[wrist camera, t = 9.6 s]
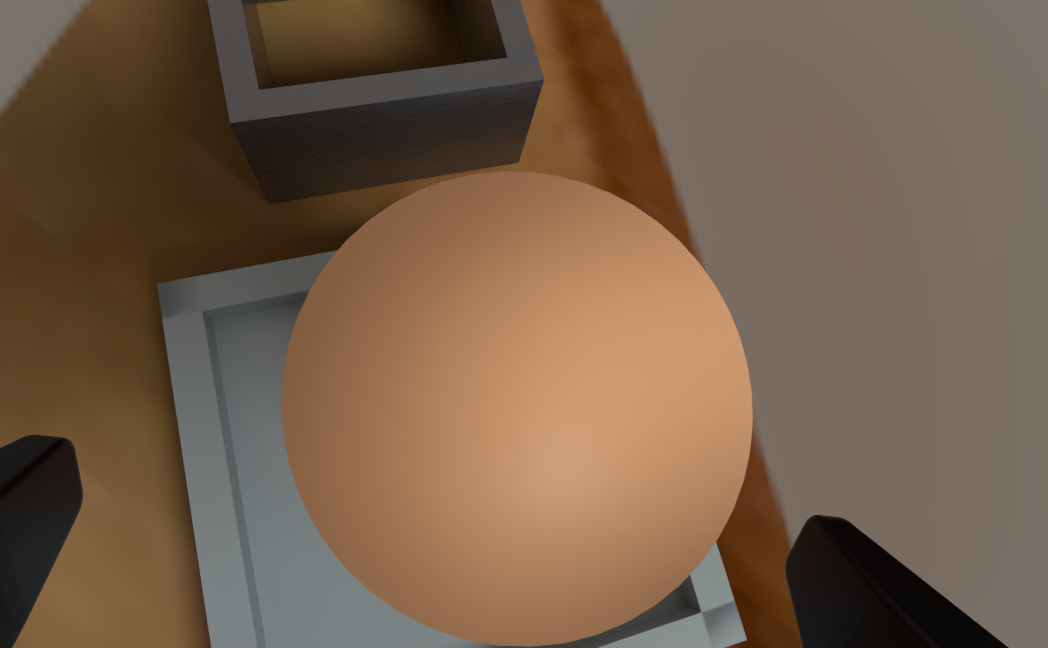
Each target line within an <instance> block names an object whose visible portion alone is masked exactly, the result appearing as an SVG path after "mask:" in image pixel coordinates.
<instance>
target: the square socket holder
mask: <svg viewBox="0 0 1048 648" xmlns="http://www.w3.org/2000/svg"><path fill="white" fill-rule="evenodd" d="M207 1H208V7H209V12H210V18H211V23H212V28H213V34H214V39H215V45H216V50H217V55H218V61H219V66H220V72H221V77H222V82H223V88H224V93H225V99H226V104H227V109H228V115H229V120H230V124H231V126H232V128H233V130H234V132H235V134H236V137H237V139H238V141H239V143H240V145H241V147H242V149H243V151H244V153H245V155H246V157H247V159H248V162H249V164H250V166H251V168H252V170H253V172H254V174H255V176H256V178H257V180H258V182H259V184H260V186H261V189H262V191H263V193H264V195H265V197H266V199H267V201H268V203H269V204H270V203H276V202H282V201H288V200H294V199H300V198H306V197H312V196H318V195H324V194H330V193H336V192H343V191H349V190H355V189H361V188H367V187H373V186H379V185H385V184H391V183H397V182H403V181H409V180H415V179H421V178H427V177H433V176H439V175H445V174H451V173H457V172H463V171H469V170H475V169H481V168H487V167H493V166H499V165H505V164H512V163H518V162H519V159H520V156H521V153H522V150H523V146H524V143H525V140H526V137H527V133H528V130H529V127H530V124H531V120H532V117H533V114H534V111H535V107H536V104H537V101H538V98H539V94H540V91H541V88H542V85H543V81H544V78H543V75H542V71H541V68H540V65H539V61H538V58H537V55H536V52H535V48H534V45H533V42H532V39H531V35H530V32H529V29H528V25H527V22H526V19H525V16H524V12H523V9H522V6H521V2H520V0H449V1H450V5H451V8H452V12H453V15H454V19H455V23H456V26H457V30H458V33H459V37H460V41H461V44H462V48H463V51H464V55H465V59H466V62H467V63H463V64H455V65H447V66H440V67H432V68H424V69H416V70H409V71H401V72H393V73H386V74H378V75H370V76H362V77H355V78H347V79H339V80H331V81H324V82H316V83H308V84H301V85H293V86H285V87H277V88H273V85H272V80H271V75H270V70H269V66H268V61H267V56H266V51H265V46H264V41H263V36H262V31H261V26H260V21H259V16H258V11H257V7H256V3H264V2H274V1H284V0H207Z"/></svg>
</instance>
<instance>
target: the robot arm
mask: <svg viewBox="0 0 1048 648" xmlns="http://www.w3.org/2000/svg"><path fill="white" fill-rule="evenodd" d="M82 499H83V489H82V484H81V478H80V473H79V468H78V463H77V458H76V453H75V448H74V445H73V444H72V442H71V441H70V440H68V439H66V438H62V437H53V436H43V435H28V436H25V437H23V438H20V439H18V440H16V441H14V442H12V443H10V444H8V445H6V446H3V447H1V448H0V648H12V647H13V645H14V643H15V642H16V640H17V638H18V636H19V634H20V632H21V630H22V628H23V627H24V625H25V623H26V621H27V619H28V617H29V615H30V613H31V611H32V609H33V606H34V604H35V602H36V600H37V598H38V596H39V594H40V592H41V590H42V588H43V586H44V584H45V582H46V580H47V578H48V575H49V573H50V571H51V569H52V567H53V565H54V563H55V561H56V559H57V557H58V555H59V553H60V551H61V549H62V546H63V544H64V542H65V540H66V538H67V536H68V534H69V532H70V530H71V528H72V526H73V524H74V522H75V520H76V518H77V515H78V513H79V511H80V508H81V505H82ZM786 578H787V582H788V586H789V590H790V595H791V599H792V603H793V607H794V611H795V616H796V620H797V624H798V628H799V632H800V636H801V641H802V645H803V648H1008V647H1007V646H1006V645H1005V644H1003V643H1002V642H1000V640H998V639H997V638H996V637H994V636H993V635H992V634H991V633H989V632H988V631H987V630H985V629H984V628H983V627H982V626H981V625H979V624H978V623H977V622H975V621H974V620H973V619H972V618H970V617H969V616H968V615H967V614H965V613H964V612H963V611H962V610H960V609H959V608H958V607H956V606H955V605H954V604H953V603H951V602H950V601H949V600H948V599H946V598H945V597H944V596H943V595H941V594H940V593H939V592H937V591H936V590H935V589H933V588H932V587H931V586H930V585H929V584H927V583H926V582H925V581H923V580H922V579H921V578H920V577H918V576H917V575H916V574H915V573H913V572H912V571H911V570H909V569H908V568H907V567H906V566H904V565H903V564H902V563H901V562H899V561H898V560H897V559H895V558H894V557H893V556H892V555H891V554H889V553H888V552H887V551H885V550H884V549H883V548H882V547H880V546H879V545H878V544H877V543H875V542H874V541H873V540H872V539H870V538H869V537H868V536H867V535H865V534H864V533H863V532H861V531H860V530H859V529H858V528H856V527H855V526H854V525H853V524H851V523H850V522H849V521H847V520H846V519H843V518H840V517H833V516H823V515H814V516H812V517H810V518H809V519H808V520H807V521H806V523H805V524H804V526H803V528H802V530H801V532H800V534H799V536H798V538H797V539H796V541H795V543H794V545H793V547H792V549H791V551H790V553H789V555H788V557H787V561H786Z"/></svg>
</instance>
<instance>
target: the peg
mask: <svg viewBox="0 0 1048 648" xmlns="http://www.w3.org/2000/svg"><path fill="white" fill-rule="evenodd" d="M281 415H282V423H283V432H284V441H285V448H286V452H287V456H288V460H289V464H290V467H291V471H292V475H293V479H294V482H295V484H296V486H297V489H298V491H299V494H300V496H301V499H302V501H303V503H304V506H305V508H306V511H307V513H308V514H309V516H310V518H311V519H312V521H313V523H314V524H315V526H316V528H317V530H318V531H319V533H320V535H321V536H322V538H323V540H324V541H325V543H326V544H327V545H328V546H329V548H330V549H331V550H332V551H333V553H334V554H335V555H336V556H337V558H338V559H339V560H340V561H341V563H342V564H343V565H344V566H345V568H346V569H347V570H348V571H349V572H350V573H351V574H353V575H354V576H355V577H356V578H357V579H358V580H359V581H360V582H361V583H362V584H363V585H364V586H365V587H366V588H367V589H368V590H370V591H371V592H372V593H373V594H375V595H376V596H377V597H379V598H380V599H382V600H383V601H384V602H386V603H387V604H389V605H390V606H392V607H393V608H394V609H396V610H397V611H399V612H400V613H402V614H404V615H406V616H408V617H410V618H412V619H414V620H416V621H418V622H420V623H422V624H424V625H426V626H428V627H430V628H432V629H435V630H438V631H441V632H444V633H447V634H450V635H453V636H456V637H459V638H462V639H465V640H470V641H476V642H481V643H487V644H492V645H498V646H526V647H534V646H543V645H552V644H561V643H567V642H571V641H575V640H579V639H583V638H586V637H590V636H594V635H598V634H600V633H603V632H605V631H607V630H610V629H612V628H614V627H617V626H619V625H621V624H624V623H626V622H628V621H630V620H632V619H633V618H635V617H637V616H638V615H640V614H642V613H643V612H645V611H647V610H648V609H650V608H652V607H653V606H655V605H656V604H657V603H659V602H660V601H661V600H662V599H664V598H665V597H666V596H667V595H668V594H670V593H671V592H672V591H673V590H675V589H676V588H677V587H678V586H680V585H681V583H682V582H683V581H684V580H685V579H686V578H687V577H688V576H689V575H690V574H691V573H692V572H693V571H694V569H695V568H696V567H697V566H698V565H699V564H700V563H701V562H702V560H703V559H704V558H705V556H706V555H707V553H708V552H709V550H710V549H711V548H712V546H713V545H714V543H715V542H716V541H717V539H718V538H719V536H720V534H721V532H722V530H723V528H724V526H725V524H726V523H727V521H728V519H729V517H730V515H731V513H732V511H733V509H734V506H735V503H736V500H737V498H738V495H739V492H740V489H741V487H742V484H743V481H744V477H745V472H746V468H747V463H748V458H749V454H750V446H751V435H752V424H753V416H752V392H751V385H750V379H749V372H748V366H747V361H746V358H745V354H744V350H743V347H742V343H741V340H740V336H739V334H738V332H737V329H736V327H735V324H734V322H733V319H732V317H731V314H730V312H729V310H728V308H727V306H726V304H725V302H724V300H723V299H722V297H721V295H720V293H719V291H718V290H717V288H716V286H715V284H714V283H713V282H712V280H711V279H710V277H709V276H708V275H707V273H706V272H705V270H704V269H703V268H702V266H701V265H700V263H699V262H698V261H697V260H696V259H695V258H694V256H693V255H692V254H691V253H690V252H689V251H688V250H687V249H686V248H685V247H684V245H683V244H682V243H681V242H680V241H679V240H678V239H677V238H676V237H674V236H673V235H672V234H671V233H670V232H669V231H668V230H666V229H665V228H664V227H663V226H662V225H661V224H660V223H658V222H657V221H656V220H654V219H653V218H651V217H650V216H648V215H647V214H645V213H644V212H643V211H641V210H640V209H638V208H637V207H635V206H634V205H632V204H630V203H628V202H626V201H624V200H622V199H620V198H618V197H617V196H615V195H613V194H611V193H609V192H606V191H604V190H601V189H598V188H596V187H593V186H591V185H588V184H586V183H583V182H579V181H575V180H571V179H567V178H564V177H560V176H555V175H548V174H541V173H534V172H508V171H500V172H490V173H481V174H472V175H468V176H463V177H459V178H455V179H450V180H446V181H443V182H440V183H437V184H435V185H432V186H429V187H426V188H424V189H421V190H418V191H416V192H414V193H412V194H411V195H409V196H407V197H405V198H403V199H401V200H399V201H397V202H395V203H393V204H392V205H390V206H389V207H387V208H386V209H384V210H383V211H381V212H380V213H378V214H377V215H376V216H374V217H373V218H371V219H370V220H368V221H367V222H366V223H365V224H364V225H363V226H362V227H361V228H360V229H358V230H357V231H356V232H355V233H354V234H353V235H352V236H351V237H350V238H348V239H347V240H346V241H345V243H344V244H343V245H342V246H341V247H340V248H339V250H338V251H337V252H336V253H335V254H334V256H333V257H332V258H331V259H330V260H329V261H328V263H327V264H326V265H325V267H324V269H323V270H322V272H321V273H320V275H319V276H318V278H317V279H316V281H315V283H314V284H313V286H312V287H311V289H310V291H309V293H308V295H307V297H306V299H305V301H304V304H303V306H302V308H301V310H300V312H299V314H298V316H297V319H296V322H295V326H294V329H293V332H292V335H291V338H290V342H289V345H288V348H287V354H286V360H285V366H284V372H283V378H282V408H281Z"/></svg>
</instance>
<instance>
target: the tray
mask: <svg viewBox="0 0 1048 648" xmlns="http://www.w3.org/2000/svg"><path fill="white" fill-rule="evenodd" d="M337 251H338V250H336V251H331V252H325V253H320V254H314V255H309V256H303V257H298V258H293V259H287V260H282V261H276V262H271V263H266V264H260V265H255V266H249V267H244V268H238V269H233V270H228V271H222V272H217V273H211V274H206V275H200V276H195V277H190V278H184V279H179V280H173V281H168V282H162V283H157V288H158V295H159V301H160V308H161V315H162V321H163V328H164V335H165V342H166V348H167V355H168V362H169V368H170V375H171V382H172V388H173V395H174V402H175V408H176V415H177V422H178V429H179V435H180V442H181V449H182V455H183V462H184V469H185V475H186V482H187V489H188V495H189V502H190V509H191V516H192V522H193V529H194V536H195V542H196V549H197V556H198V562H199V569H200V576H201V582H202V589H203V596H204V603H205V609H206V616H207V623H208V629H209V636H210V643H211V648H725V647H728V646H731V645H733V644H736V643H739V642H742V641H745V640H747V639H746V636H745V632H744V629H743V626H742V623H741V620H740V617H739V613H738V610H737V607H736V604H735V601H734V597H733V594H732V591H731V588H730V585H729V582H728V578H727V575H726V572H725V569H724V566H723V563H722V559H721V556H720V553H719V550H718V547H717V543H716V542H715V543H714V545H713V546H712V548H711V549H710V550H709V552H708V553H707V555H706V556H705V558H704V559H703V560H702V562H701V563H700V564H699V565H698V566H697V567H696V568H695V569H694V571H693V572H692V573H691V574H690V575H689V576H688V577H687V578H686V579H685V580H684V581H683V582H682V583H681V585H680V586H678V587H677V588H676V589H675V590H673V591H672V592H671V593H670V594H668V595H667V596H666V597H665V598H664V599H662V600H661V601H660V602H659V603H657V604H656V605H655V606H653V607H652V608H650V609H648V610H647V611H645V612H643V613H642V614H640V615H638V616H637V617H635V618H633V619H632V620H630V621H628V622H626V623H624V624H621V625H619V626H617V627H614V628H612V629H610V630H607V631H605V632H603V633H600V634H598V635H594V636H590V637H586V638H583V639H579V640H575V641H571V642H567V643H561V644H552V645H543V646H534V647H526V646H498V645H492V644H487V643H481V642H476V641H470V640H465V639H462V638H459V637H456V636H453V635H450V634H447V633H444V632H441V631H438V630H435V629H432V628H430V627H428V626H426V625H424V624H422V623H420V622H418V621H416V620H414V619H412V618H410V617H408V616H406V615H404V614H402V613H400V612H399V611H397V610H396V609H394V608H393V607H392V606H390V605H389V604H387V603H386V602H384V601H383V600H382V599H380V598H379V597H377V596H376V595H375V594H373V593H372V592H371V591H370V590H368V589H367V588H366V587H365V586H364V585H363V584H362V583H361V582H360V581H359V580H358V579H357V578H356V577H355V576H354V575H353V574H351V573H350V572H349V571H348V570H347V569H346V568H345V566H344V565H343V564H342V563H341V561H340V560H339V559H338V558H337V556H336V555H335V554H334V553H333V551H332V550H331V549H330V548H329V546H328V545H327V544H326V543H325V541H324V540H323V538H322V536H321V535H320V533H319V531H318V530H317V528H316V526H315V524H314V523H313V521H312V519H311V518H310V516H309V514H308V513H307V511H306V508H305V506H304V503H303V501H302V499H301V496H300V494H299V491H298V489H297V486H296V484H295V482H294V479H293V475H292V471H291V467H290V464H289V460H288V456H287V452H286V448H285V441H284V432H283V423H282V415H281V408H282V378H283V372H284V366H285V360H286V354H287V348H288V345H289V342H290V338H291V335H292V332H293V329H294V326H295V322H296V319H297V316H298V314H299V312H300V310H301V308H302V306H303V304H304V301H305V299H306V297H307V295H308V293H309V291H310V289H311V287H312V286H313V284H314V283H315V281H316V279H317V278H318V276H319V275H320V273H321V272H322V270H323V269H324V267H325V265H326V264H327V263H328V261H329V260H330V259H331V258H332V257H333V256H334V254H335V253H336V252H337Z"/></svg>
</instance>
